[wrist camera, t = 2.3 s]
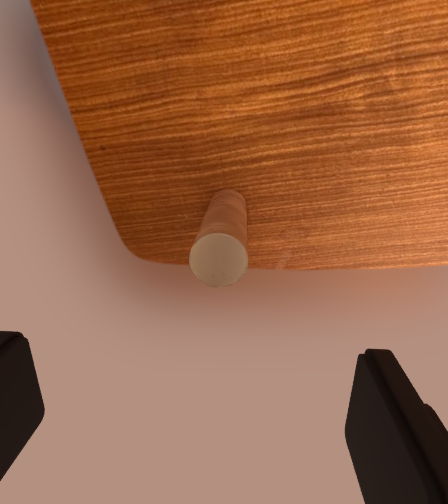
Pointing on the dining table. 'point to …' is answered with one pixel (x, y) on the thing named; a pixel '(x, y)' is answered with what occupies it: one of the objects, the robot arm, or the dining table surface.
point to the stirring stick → (221, 241)
